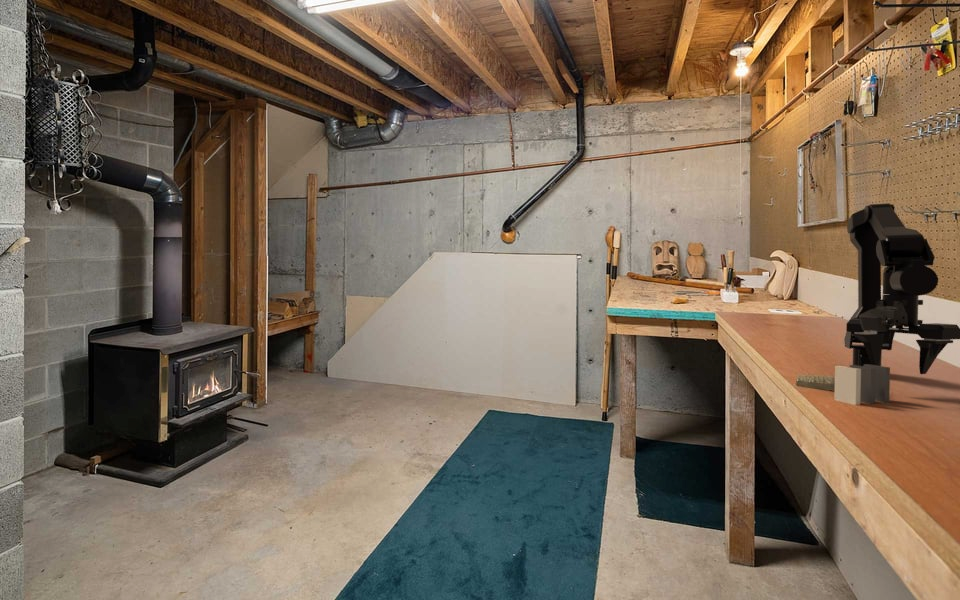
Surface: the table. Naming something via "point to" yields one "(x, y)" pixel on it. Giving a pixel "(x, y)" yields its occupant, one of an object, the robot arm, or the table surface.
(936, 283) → the robot arm
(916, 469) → the table surface
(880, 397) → the domino
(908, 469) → the table surface
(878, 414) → the table surface
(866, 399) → the domino
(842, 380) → the end domino
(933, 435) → the table surface
